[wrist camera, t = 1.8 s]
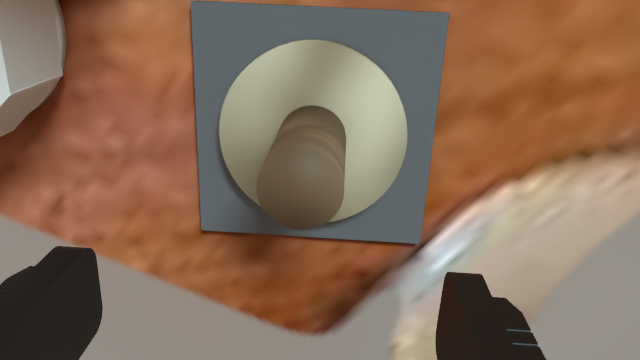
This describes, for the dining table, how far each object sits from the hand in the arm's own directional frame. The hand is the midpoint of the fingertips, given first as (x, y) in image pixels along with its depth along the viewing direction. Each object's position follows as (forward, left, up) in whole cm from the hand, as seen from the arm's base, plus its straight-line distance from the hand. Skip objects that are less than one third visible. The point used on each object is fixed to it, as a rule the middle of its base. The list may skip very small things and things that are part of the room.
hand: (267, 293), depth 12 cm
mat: (0, 0, -14) cm, 14 cm away
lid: (0, 0, -13) cm, 13 cm away
